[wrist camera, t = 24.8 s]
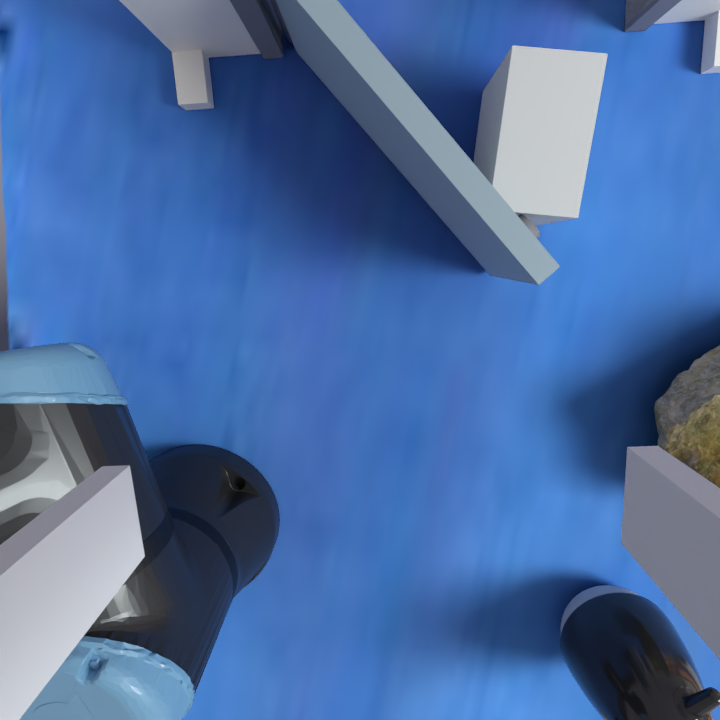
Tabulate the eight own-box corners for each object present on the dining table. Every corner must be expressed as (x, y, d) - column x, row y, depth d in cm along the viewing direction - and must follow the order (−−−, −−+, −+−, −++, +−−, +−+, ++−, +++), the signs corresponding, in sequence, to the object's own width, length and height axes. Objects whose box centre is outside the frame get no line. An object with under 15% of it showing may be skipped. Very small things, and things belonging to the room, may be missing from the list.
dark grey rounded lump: (668, 584, 48) (797, 730, 34) (622, 667, 51) (724, 839, 36) (573, 552, 48) (661, 685, 33) (530, 637, 50) (595, 798, 35)
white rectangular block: (465, 219, 42) (489, 209, 33) (482, 91, 40) (512, 45, 31) (535, 225, 42) (578, 217, 33) (556, 98, 40) (607, 53, 31)
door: (280, 34, 39) (227, -85, 25) (309, 2, 38) (271, -137, 25) (489, 275, 42) (542, 285, 29) (518, 249, 42) (586, 247, 28)
